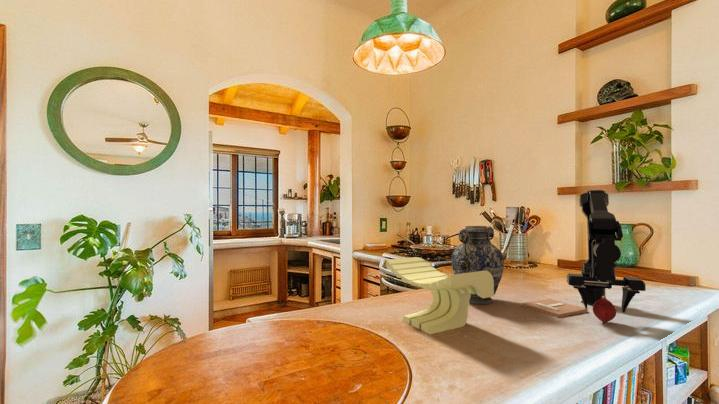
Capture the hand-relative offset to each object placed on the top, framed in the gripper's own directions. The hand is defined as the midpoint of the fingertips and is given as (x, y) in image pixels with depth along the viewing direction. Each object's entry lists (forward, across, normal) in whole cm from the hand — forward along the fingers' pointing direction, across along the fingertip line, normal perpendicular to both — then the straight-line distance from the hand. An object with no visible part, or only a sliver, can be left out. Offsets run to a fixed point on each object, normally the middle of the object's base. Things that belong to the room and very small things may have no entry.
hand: (604, 310), depth 103 cm
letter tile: (+4, +13, -10) cm, 17 cm away
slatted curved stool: (+4, +46, +20) cm, 51 cm away
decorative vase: (+4, +37, -11) cm, 39 cm away
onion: (+4, 0, 0) cm, 4 cm away
